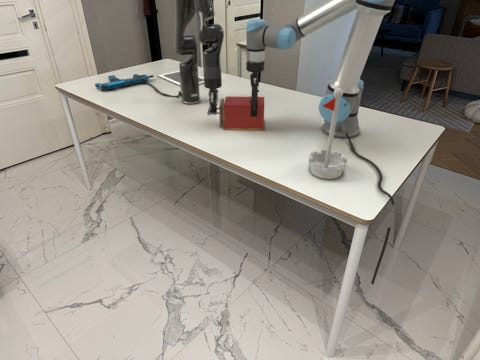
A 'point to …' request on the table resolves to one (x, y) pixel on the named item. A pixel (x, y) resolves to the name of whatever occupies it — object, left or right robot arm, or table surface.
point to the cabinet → (243, 113)
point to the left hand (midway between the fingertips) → (214, 114)
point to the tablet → (177, 77)
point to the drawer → (221, 112)
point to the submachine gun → (122, 81)
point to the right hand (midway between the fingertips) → (254, 111)
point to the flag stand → (329, 148)
